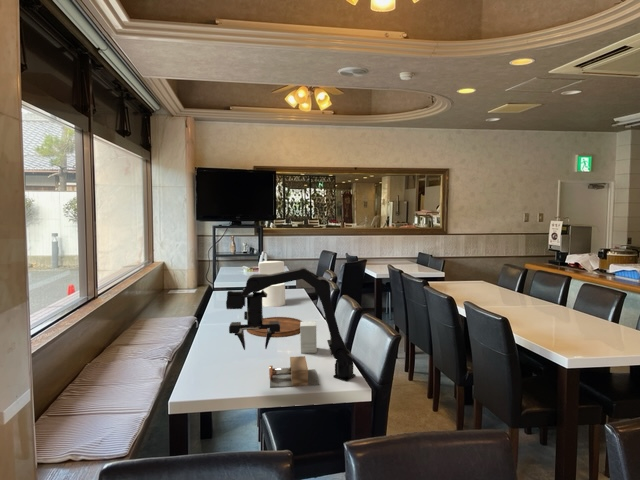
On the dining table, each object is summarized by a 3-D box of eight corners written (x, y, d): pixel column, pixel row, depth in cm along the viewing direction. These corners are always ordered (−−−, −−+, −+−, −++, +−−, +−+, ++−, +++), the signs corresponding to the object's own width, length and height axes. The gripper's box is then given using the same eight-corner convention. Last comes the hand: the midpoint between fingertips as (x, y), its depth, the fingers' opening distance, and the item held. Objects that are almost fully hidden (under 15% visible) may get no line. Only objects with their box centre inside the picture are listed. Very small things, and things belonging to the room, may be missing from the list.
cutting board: (292, 340, 207) (292, 335, 207) (235, 334, 217) (235, 329, 217) (314, 323, 237) (314, 319, 237) (263, 318, 247) (263, 314, 247)
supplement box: (316, 347, 196) (316, 321, 195) (316, 353, 189) (316, 325, 188) (300, 347, 196) (300, 321, 195) (300, 353, 188) (300, 325, 187)
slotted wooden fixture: (315, 370, 169) (314, 355, 169) (318, 385, 155) (318, 369, 155) (270, 372, 167) (269, 357, 167) (269, 387, 153) (269, 371, 153)
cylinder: (256, 302, 286) (255, 261, 284) (280, 299, 293) (279, 260, 291) (263, 308, 271) (263, 265, 268) (289, 305, 278) (288, 263, 275)
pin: (295, 374, 163) (295, 362, 163) (296, 379, 159) (296, 367, 158) (269, 375, 162) (269, 364, 162) (269, 380, 158) (269, 368, 157)
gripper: (279, 303, 166) (279, 341, 168) (231, 304, 164) (232, 343, 166) (279, 310, 155) (280, 351, 157) (228, 311, 153) (229, 353, 155)
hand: (255, 349), depth 159 cm, fingers open, 8 cm apart
